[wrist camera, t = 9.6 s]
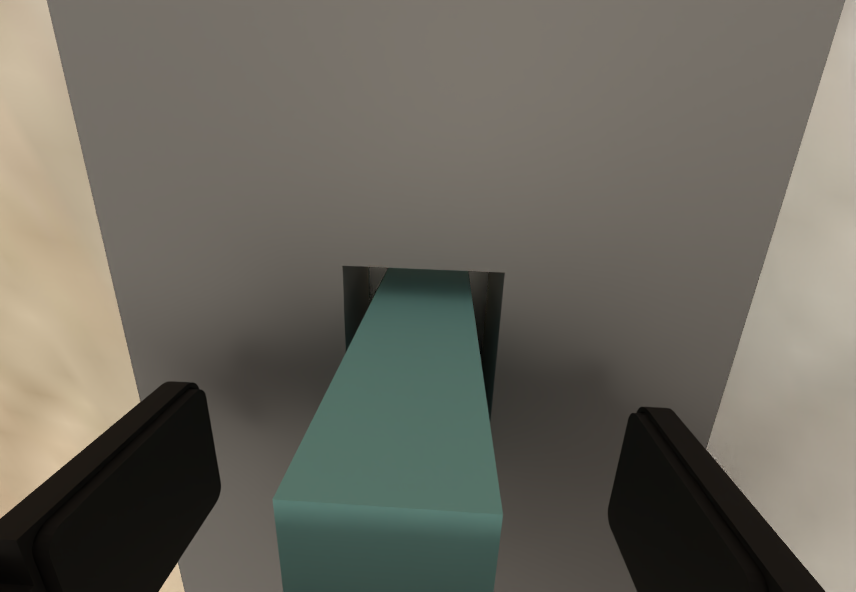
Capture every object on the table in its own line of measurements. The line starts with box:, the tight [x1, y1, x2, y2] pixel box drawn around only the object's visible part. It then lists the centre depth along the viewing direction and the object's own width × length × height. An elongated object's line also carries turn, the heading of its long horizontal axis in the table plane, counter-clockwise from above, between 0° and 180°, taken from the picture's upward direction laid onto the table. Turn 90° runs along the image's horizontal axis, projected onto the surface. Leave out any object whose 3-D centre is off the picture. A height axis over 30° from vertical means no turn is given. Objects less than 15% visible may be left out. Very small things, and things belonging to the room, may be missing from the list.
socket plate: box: [47, 0, 845, 592], centre depth 13 cm, size 16×20×4 cm
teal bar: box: [272, 268, 503, 592], centre depth 10 cm, size 2×6×10 cm, turn 178°
